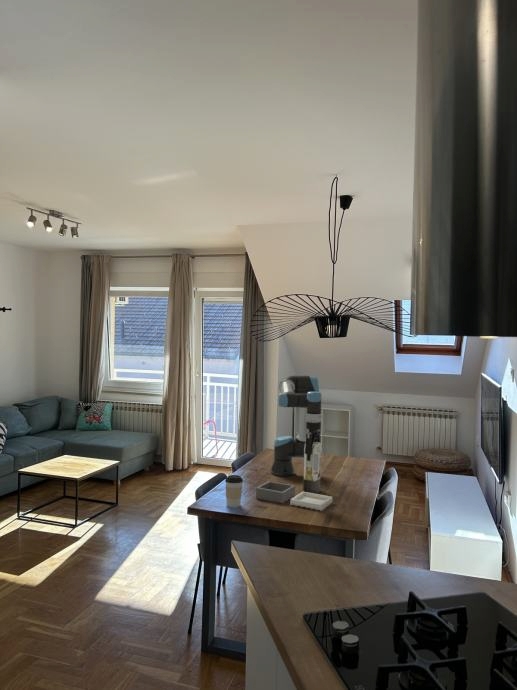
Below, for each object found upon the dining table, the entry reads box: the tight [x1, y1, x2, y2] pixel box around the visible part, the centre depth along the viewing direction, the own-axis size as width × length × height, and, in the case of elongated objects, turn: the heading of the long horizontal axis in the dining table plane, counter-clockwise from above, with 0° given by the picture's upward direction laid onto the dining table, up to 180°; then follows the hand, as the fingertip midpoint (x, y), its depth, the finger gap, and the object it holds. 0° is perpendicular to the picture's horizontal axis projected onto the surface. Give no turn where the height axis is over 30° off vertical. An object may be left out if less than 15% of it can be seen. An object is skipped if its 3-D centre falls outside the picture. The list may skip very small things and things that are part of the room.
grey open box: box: [255, 480, 296, 504], centre depth 265 cm, size 16×15×6 cm
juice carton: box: [303, 441, 322, 481], centre depth 255 cm, size 8×9×19 cm
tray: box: [289, 491, 333, 512], centre depth 255 cm, size 17×16×3 cm
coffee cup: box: [224, 474, 244, 508], centre depth 250 cm, size 9×9×15 cm
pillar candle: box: [302, 478, 321, 494], centre depth 279 cm, size 10×10×15 cm
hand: (312, 464), depth 255 cm, fingers closed on juice carton, 8 cm apart
